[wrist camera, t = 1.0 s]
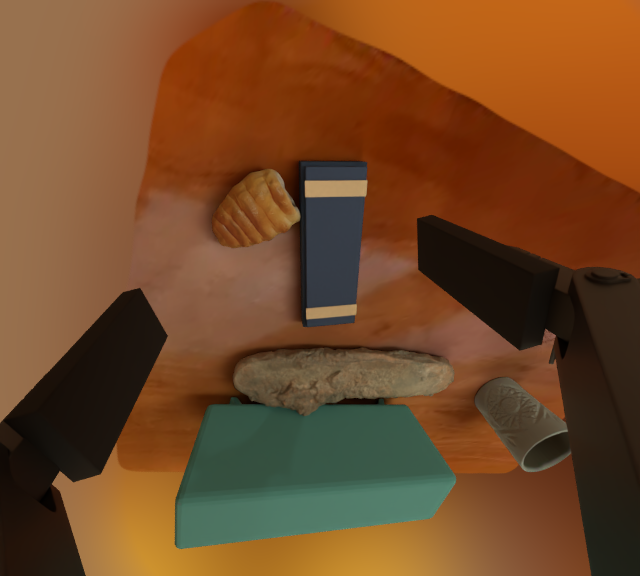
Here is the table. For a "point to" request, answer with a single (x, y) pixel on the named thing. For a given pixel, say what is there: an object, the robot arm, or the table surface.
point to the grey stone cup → (523, 424)
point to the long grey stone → (338, 376)
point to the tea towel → (330, 239)
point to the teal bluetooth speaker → (306, 472)
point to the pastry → (254, 211)
